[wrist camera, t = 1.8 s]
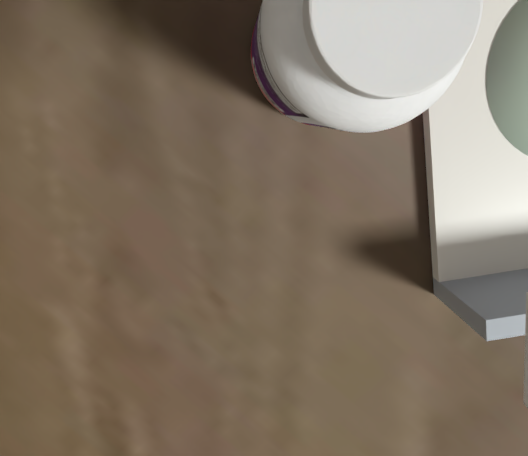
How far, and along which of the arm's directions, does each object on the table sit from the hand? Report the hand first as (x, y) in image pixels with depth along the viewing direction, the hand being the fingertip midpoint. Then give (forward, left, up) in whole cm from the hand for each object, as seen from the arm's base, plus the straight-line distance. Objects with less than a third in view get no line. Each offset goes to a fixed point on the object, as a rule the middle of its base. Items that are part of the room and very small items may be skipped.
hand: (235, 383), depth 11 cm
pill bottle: (-8, +6, -21) cm, 23 cm away
